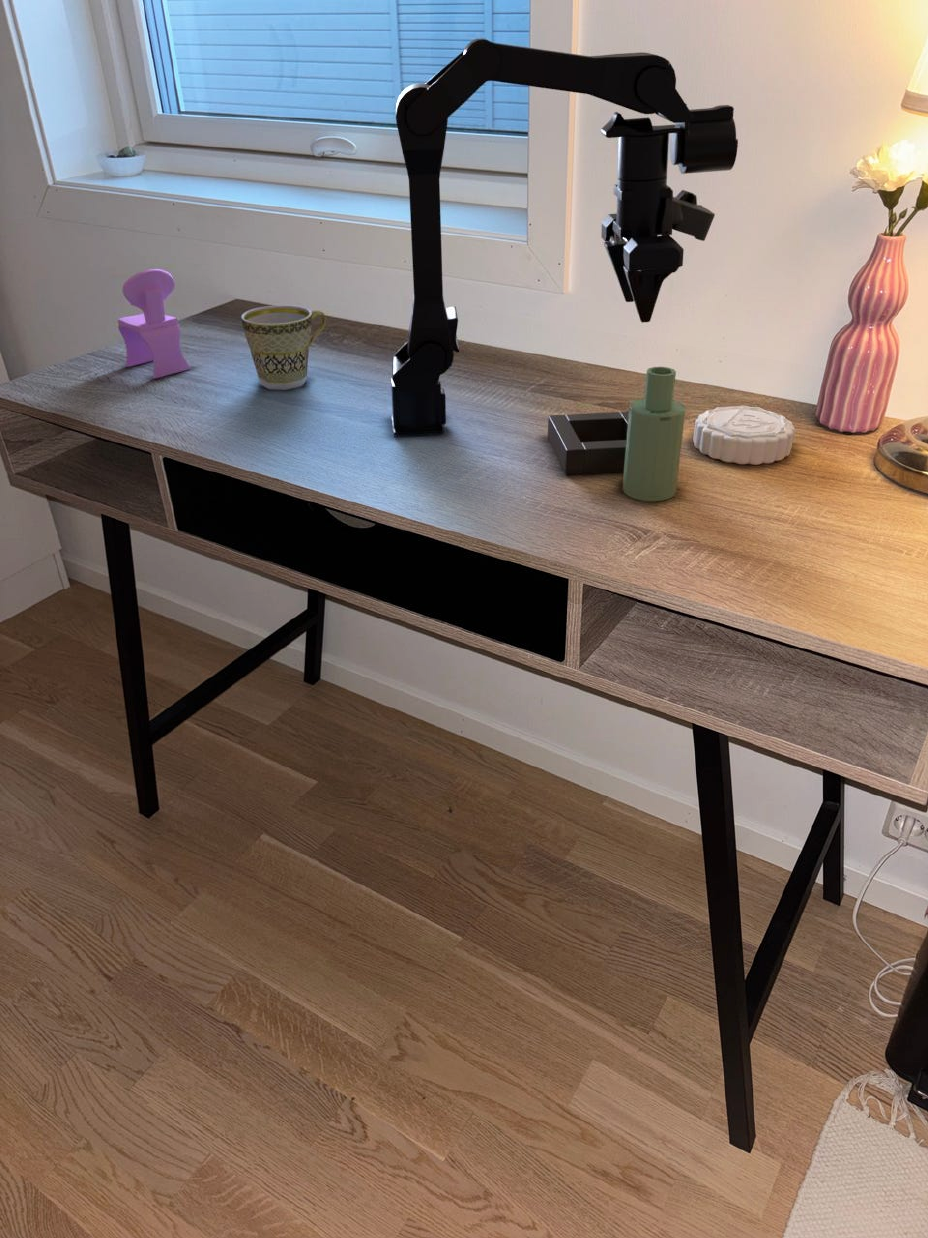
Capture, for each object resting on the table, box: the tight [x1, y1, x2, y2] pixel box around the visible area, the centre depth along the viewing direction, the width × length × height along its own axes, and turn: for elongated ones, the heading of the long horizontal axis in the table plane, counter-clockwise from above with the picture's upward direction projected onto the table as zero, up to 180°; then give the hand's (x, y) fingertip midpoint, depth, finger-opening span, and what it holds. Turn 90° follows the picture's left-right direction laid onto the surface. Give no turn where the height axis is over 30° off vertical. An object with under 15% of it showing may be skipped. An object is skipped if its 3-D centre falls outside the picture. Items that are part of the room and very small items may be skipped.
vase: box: [622, 366, 687, 502], centre depth 108 cm, size 6×6×14 cm
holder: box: [547, 410, 629, 476], centre depth 120 cm, size 11×11×3 cm
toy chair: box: [116, 268, 191, 379], centre depth 147 cm, size 8×9×15 cm
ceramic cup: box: [240, 304, 327, 391], centre depth 142 cm, size 13×10×10 cm
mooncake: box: [692, 405, 796, 466], centre depth 122 cm, size 12×12×4 cm
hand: (637, 311), depth 122 cm, fingers open, 9 cm apart
